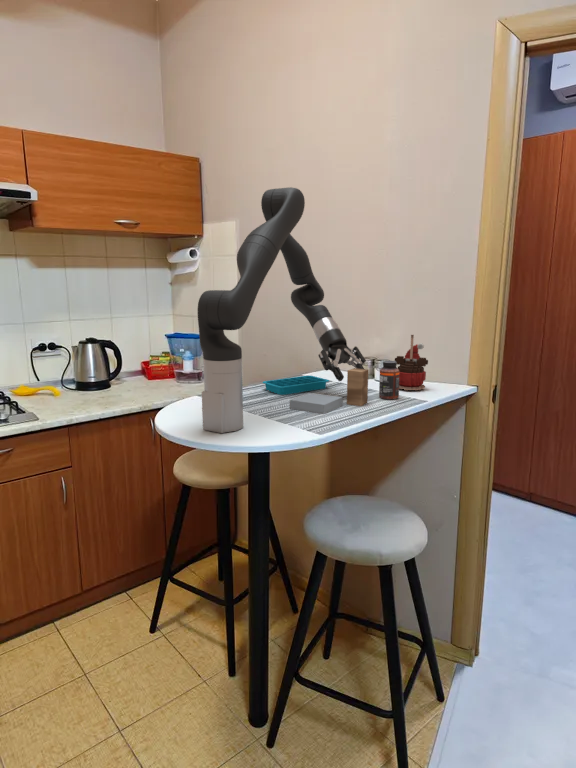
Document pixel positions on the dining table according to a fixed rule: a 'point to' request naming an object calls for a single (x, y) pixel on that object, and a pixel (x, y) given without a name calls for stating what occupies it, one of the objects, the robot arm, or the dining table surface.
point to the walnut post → (357, 386)
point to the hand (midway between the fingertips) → (353, 378)
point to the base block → (316, 403)
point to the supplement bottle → (389, 381)
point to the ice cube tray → (295, 384)
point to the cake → (411, 368)
